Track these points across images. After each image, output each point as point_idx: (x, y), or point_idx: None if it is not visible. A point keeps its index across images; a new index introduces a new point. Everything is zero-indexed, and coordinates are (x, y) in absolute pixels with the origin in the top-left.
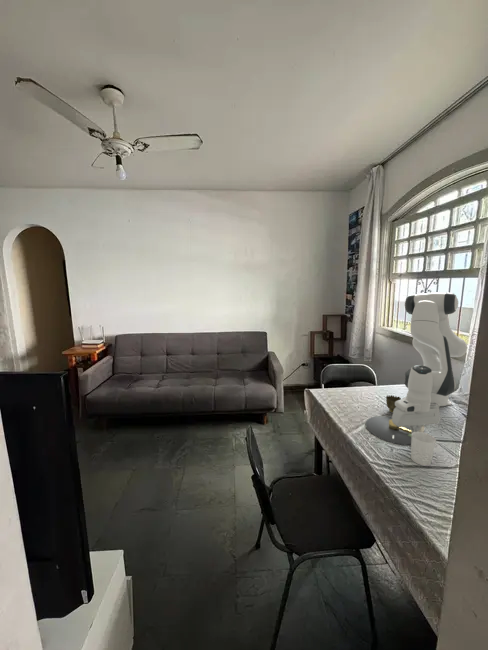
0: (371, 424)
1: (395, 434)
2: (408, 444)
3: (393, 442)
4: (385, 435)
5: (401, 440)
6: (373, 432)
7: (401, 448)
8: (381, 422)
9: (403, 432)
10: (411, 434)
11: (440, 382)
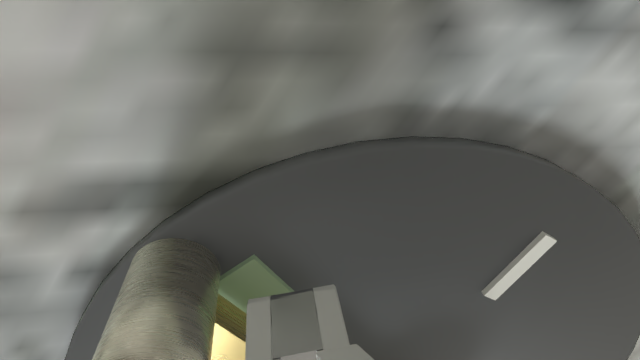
0: None
1: (443, 314)
2: (418, 140)
3: (575, 177)
4: (573, 287)
5: (473, 207)
6: (638, 322)
7: (578, 51)
8: None
9: None
10: None
11: None
